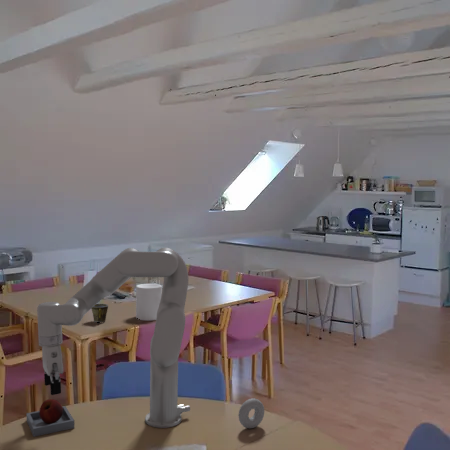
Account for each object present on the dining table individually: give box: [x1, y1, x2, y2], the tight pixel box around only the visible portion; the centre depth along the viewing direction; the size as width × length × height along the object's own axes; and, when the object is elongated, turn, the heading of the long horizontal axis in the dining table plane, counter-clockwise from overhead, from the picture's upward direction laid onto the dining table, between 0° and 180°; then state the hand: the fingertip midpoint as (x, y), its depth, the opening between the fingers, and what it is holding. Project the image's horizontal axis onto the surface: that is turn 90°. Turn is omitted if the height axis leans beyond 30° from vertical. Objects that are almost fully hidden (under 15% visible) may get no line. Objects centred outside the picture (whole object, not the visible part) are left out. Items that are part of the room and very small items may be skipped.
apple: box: [38, 398, 63, 424], centre depth 173 cm, size 7×8×8 cm
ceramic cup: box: [90, 303, 109, 323], centre depth 306 cm, size 13×10×10 cm
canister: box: [135, 283, 163, 321], centre depth 321 cm, size 16×16×20 cm
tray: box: [26, 405, 75, 438], centre depth 173 cm, size 13×13×3 cm
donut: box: [238, 397, 266, 429], centre depth 173 cm, size 10×4×10 cm, turn 122°
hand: (52, 389), depth 172 cm, fingers open, 9 cm apart
